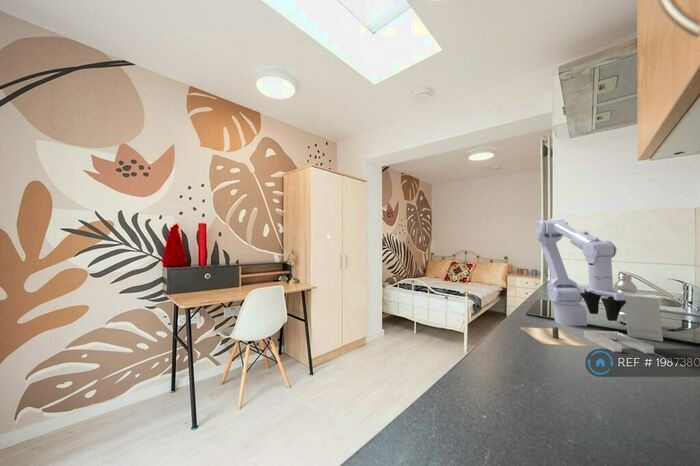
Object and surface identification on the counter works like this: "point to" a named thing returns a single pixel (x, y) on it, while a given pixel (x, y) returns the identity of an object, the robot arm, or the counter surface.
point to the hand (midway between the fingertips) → (602, 317)
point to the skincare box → (643, 316)
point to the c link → (607, 336)
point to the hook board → (549, 334)
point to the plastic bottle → (624, 291)
